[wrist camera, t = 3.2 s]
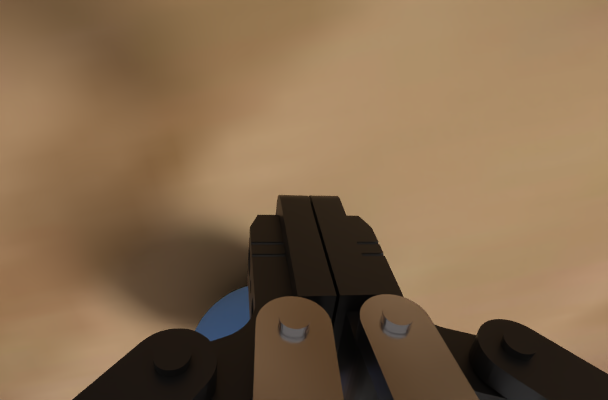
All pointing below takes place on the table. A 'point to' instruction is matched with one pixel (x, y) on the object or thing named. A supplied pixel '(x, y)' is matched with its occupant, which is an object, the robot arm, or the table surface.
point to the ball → (226, 315)
